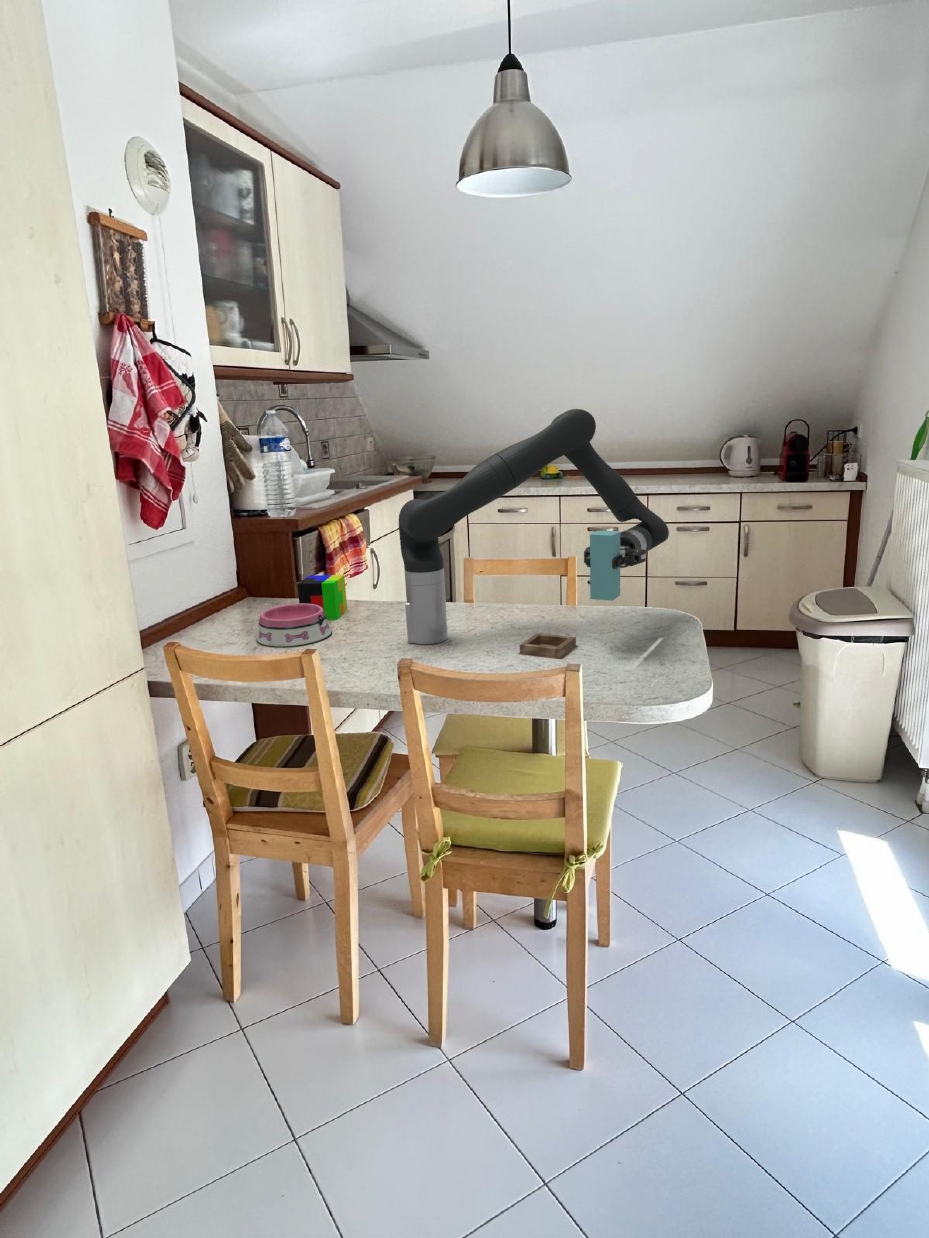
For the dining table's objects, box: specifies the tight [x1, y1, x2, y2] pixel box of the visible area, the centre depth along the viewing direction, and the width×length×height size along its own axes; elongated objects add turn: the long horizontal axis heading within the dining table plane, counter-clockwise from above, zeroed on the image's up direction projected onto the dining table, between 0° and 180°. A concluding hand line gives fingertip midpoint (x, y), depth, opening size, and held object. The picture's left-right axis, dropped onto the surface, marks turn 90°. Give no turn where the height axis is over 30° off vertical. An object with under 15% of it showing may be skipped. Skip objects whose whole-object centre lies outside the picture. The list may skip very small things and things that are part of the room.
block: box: [589, 530, 621, 602], centre depth 176 cm, size 5×5×14 cm
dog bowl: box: [256, 603, 333, 649], centre depth 205 cm, size 18×19×7 cm
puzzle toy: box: [296, 574, 348, 621], centre depth 224 cm, size 10×10×10 cm
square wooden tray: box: [517, 632, 579, 660], centre depth 182 cm, size 10×10×3 cm
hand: (601, 563), depth 174 cm, fingers closed on block, 5 cm apart
